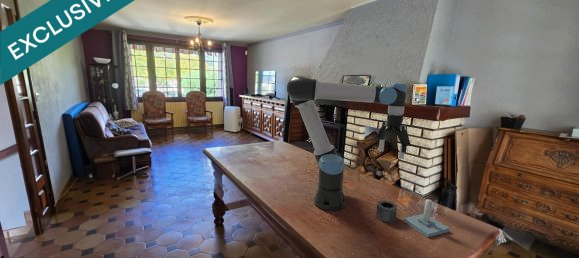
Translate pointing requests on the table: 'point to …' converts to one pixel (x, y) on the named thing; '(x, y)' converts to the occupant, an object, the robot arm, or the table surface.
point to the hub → (386, 211)
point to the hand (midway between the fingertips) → (390, 154)
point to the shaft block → (426, 222)
